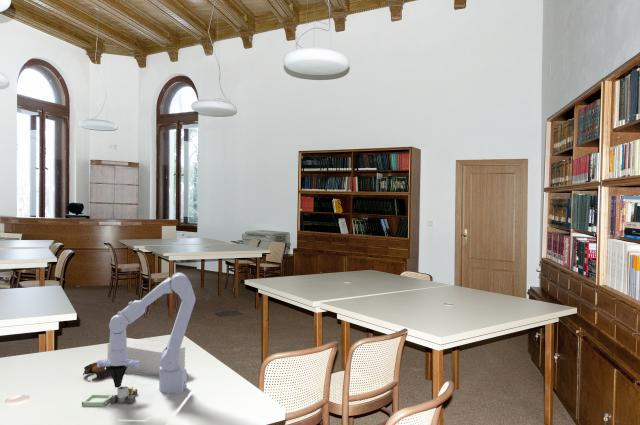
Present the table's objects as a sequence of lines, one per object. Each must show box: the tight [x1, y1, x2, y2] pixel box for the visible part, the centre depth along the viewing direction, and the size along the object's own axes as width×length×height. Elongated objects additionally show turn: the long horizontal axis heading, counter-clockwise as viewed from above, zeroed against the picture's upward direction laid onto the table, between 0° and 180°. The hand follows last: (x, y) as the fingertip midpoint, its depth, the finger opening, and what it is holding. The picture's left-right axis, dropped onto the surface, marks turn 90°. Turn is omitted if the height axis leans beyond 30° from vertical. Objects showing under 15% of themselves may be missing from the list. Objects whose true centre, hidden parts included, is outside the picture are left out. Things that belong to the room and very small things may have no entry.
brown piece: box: [83, 361, 111, 382], centre depth 191 cm, size 12×10×8 cm
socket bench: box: [109, 388, 138, 405], centre depth 170 cm, size 18×17×3 cm
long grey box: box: [107, 337, 186, 376], centre depth 203 cm, size 32×11×11 cm, turn 67°
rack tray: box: [81, 393, 114, 407], centre depth 166 cm, size 8×7×2 cm
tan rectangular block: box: [120, 385, 134, 396], centre depth 173 cm, size 4×2×2 cm, turn 89°
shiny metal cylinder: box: [116, 386, 130, 405], centre depth 166 cm, size 4×4×5 cm
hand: (118, 386), depth 173 cm, fingers closed
